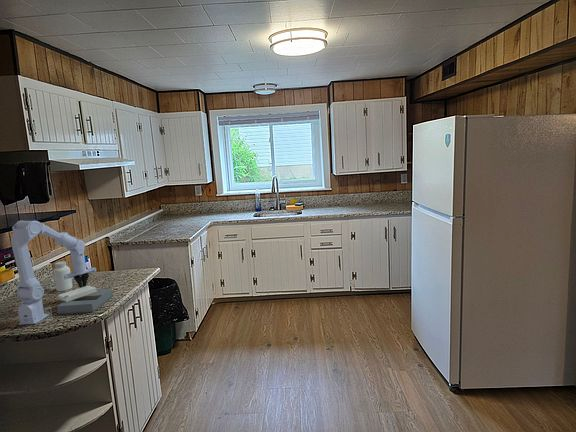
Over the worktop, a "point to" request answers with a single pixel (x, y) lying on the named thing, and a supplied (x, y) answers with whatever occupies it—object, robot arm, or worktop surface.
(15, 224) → the robot arm
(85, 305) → the gray storage bin
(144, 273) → the worktop surface
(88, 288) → the cover
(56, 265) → the pill bottle
